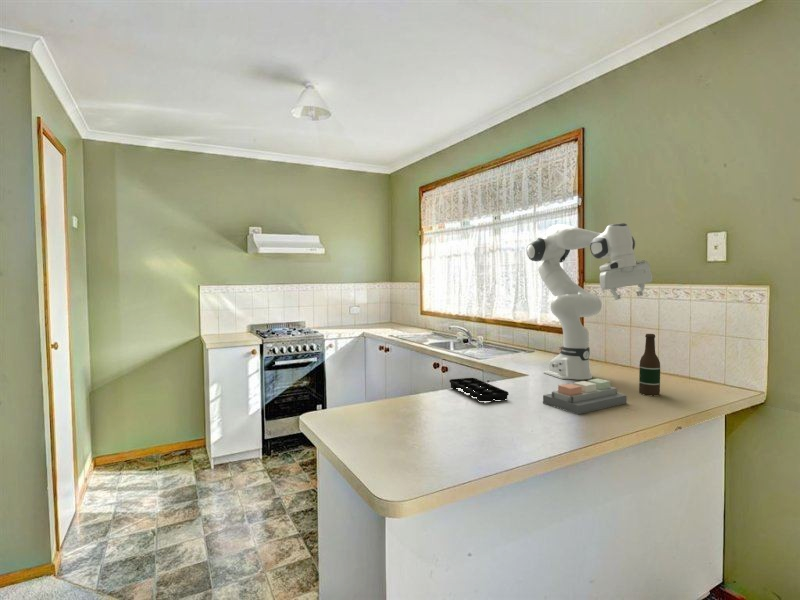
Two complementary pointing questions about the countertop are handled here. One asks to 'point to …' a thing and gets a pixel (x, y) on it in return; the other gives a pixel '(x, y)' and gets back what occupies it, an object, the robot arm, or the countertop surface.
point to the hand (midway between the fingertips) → (629, 297)
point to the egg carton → (479, 389)
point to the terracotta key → (569, 389)
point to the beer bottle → (649, 369)
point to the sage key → (600, 383)
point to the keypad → (586, 400)
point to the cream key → (586, 386)
